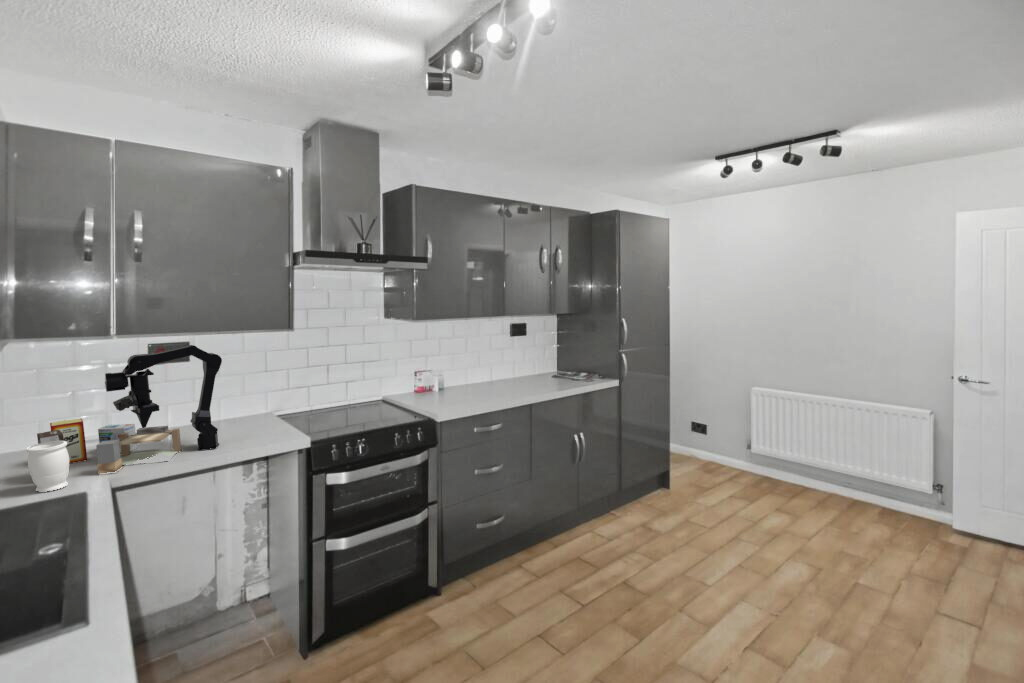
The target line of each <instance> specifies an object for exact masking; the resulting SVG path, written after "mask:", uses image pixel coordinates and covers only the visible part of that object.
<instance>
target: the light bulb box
mask: <svg viewBox="0 0 1024 683" xmlns="http://www.w3.org/2000/svg"><path fill="white" fill-rule="evenodd" d="M97 433H98V434H97V435H98V441H99V442H98V444H99V443H100V442H102V441H110V440H119V442H120V434H122V433H128V435H130V436H131V435H134V434H136V433H137V431H136V424H135V423H126V424H125V423H124V424H123V423H121V424H117V423H116V424H107V425H104V426H103V427H100V428H99V427H98V429H97ZM136 448H137V449H138V444H130V451H131V452H133V451H135V450H137V449H136ZM134 449H135V450H134ZM119 450H120V453H121V445H119ZM132 450H133V451H132Z"/></svg>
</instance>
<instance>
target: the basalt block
mask: <svg viewBox="0 0 1024 683" xmlns="http://www.w3.org/2000/svg"><path fill="white" fill-rule="evenodd" d="M95 446H96V452H97V462H98V463H97V464H104V463H114V462H116V461H117V460H119V459H120V458H121V454H120V450H119V440H110V441H102V442H100V443H99V442H98V443H97V444H96V445H95Z"/></svg>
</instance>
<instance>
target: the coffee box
mask: <svg viewBox="0 0 1024 683" xmlns="http://www.w3.org/2000/svg"><path fill="white" fill-rule="evenodd" d="M36 437H37V444H39V443H44V442H51V441H64V439H63V433H62V432H61V431H60V430H54V431H51V430H49V431H43V432H39V433H36Z"/></svg>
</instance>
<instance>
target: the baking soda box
mask: <svg viewBox="0 0 1024 683" xmlns="http://www.w3.org/2000/svg"><path fill="white" fill-rule="evenodd" d="M49 426H50V431H54V430H60V431H61V432H62V433H63V439H64V441H67V445H66V449H67V451H68V454H69V463H71V464H74V463H73V462H76V463H79V462H78V461H81V462H85V461H84V460H86V461H88V454H87V446H86V437H85V435H86V434H85V427H84V420H83V418H81V417H80V418H76V419H75V418H74V419H67V420H66V419H64V420H59V421H54V422H50V423H49Z"/></svg>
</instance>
